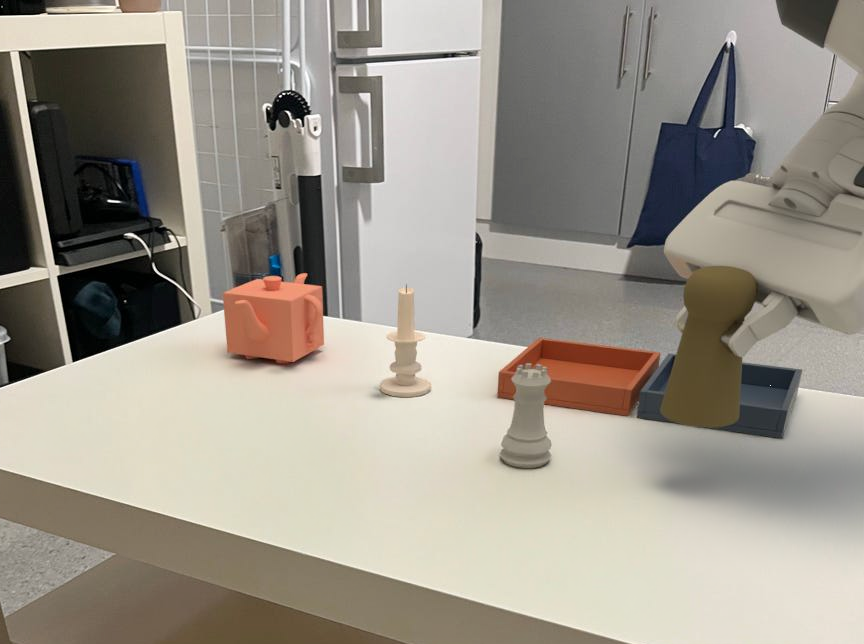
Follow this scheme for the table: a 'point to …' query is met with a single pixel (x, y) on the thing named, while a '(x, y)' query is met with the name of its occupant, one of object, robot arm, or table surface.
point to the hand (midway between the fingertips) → (705, 340)
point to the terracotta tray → (585, 374)
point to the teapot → (274, 319)
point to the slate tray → (758, 400)
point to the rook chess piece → (528, 420)
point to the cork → (709, 349)
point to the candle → (405, 352)
